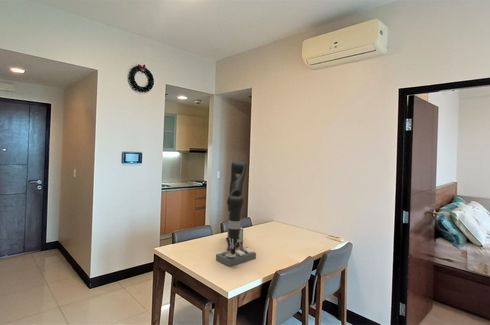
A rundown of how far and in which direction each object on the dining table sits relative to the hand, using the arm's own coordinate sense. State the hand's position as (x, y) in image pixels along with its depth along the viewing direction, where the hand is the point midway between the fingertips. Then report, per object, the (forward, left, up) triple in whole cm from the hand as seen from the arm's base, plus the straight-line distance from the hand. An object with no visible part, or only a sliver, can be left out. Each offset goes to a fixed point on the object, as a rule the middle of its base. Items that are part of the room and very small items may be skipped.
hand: (232, 253), depth 177 cm
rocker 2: (-2, +8, -2) cm, 9 cm away
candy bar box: (-20, +20, -7) cm, 29 cm away
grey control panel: (-5, +8, -7) cm, 12 cm away
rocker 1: (-2, 0, -2) cm, 3 cm away
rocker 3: (-2, +16, -2) cm, 16 cm away
